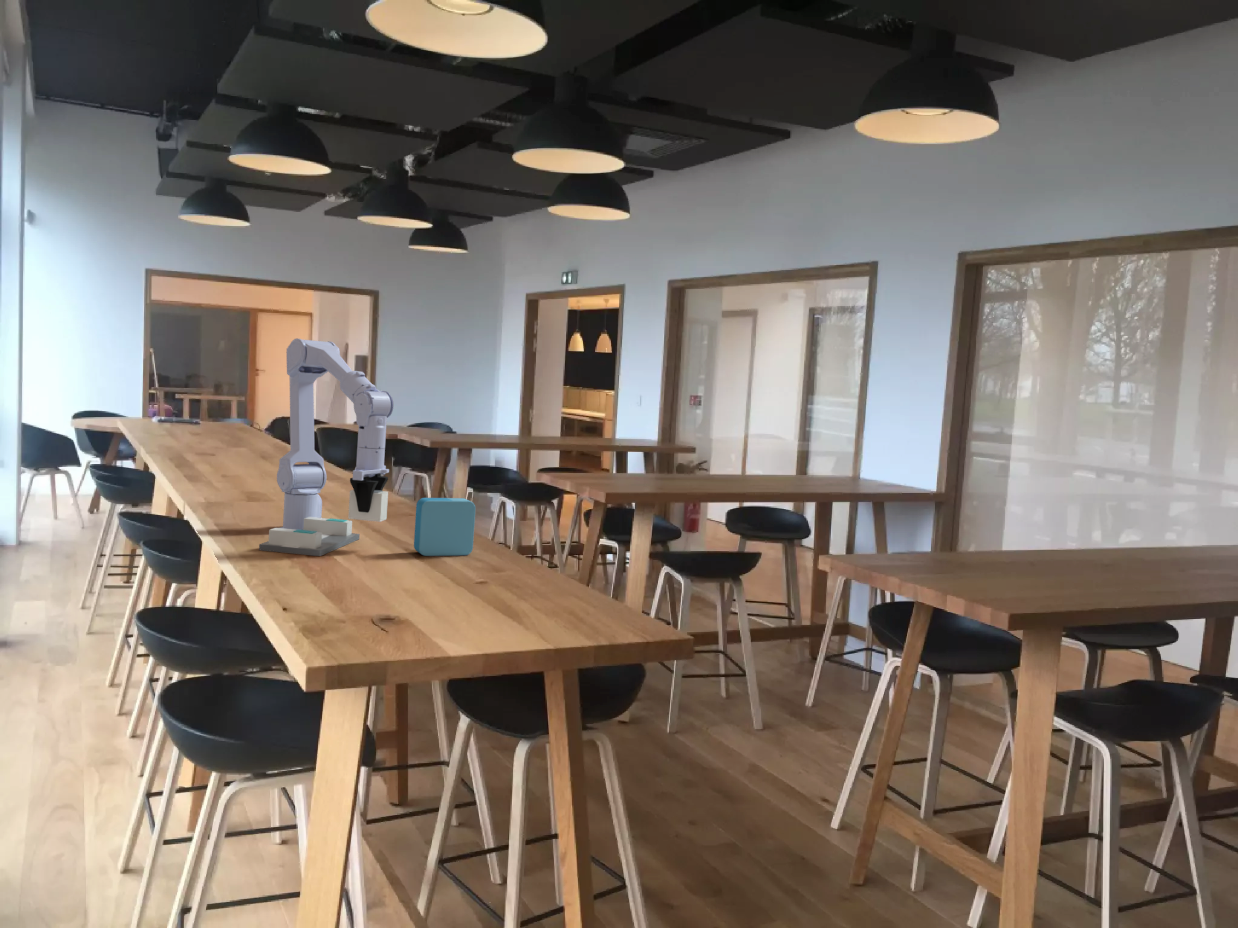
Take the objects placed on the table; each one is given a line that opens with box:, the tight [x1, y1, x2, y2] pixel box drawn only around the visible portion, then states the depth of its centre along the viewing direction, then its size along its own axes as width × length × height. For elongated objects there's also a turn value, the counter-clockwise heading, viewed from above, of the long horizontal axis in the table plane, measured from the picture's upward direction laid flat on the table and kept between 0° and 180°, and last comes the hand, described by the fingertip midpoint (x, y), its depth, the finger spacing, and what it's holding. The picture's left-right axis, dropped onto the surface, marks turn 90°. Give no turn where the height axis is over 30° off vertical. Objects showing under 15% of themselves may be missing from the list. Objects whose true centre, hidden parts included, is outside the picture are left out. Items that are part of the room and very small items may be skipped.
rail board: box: [258, 517, 360, 557], centre depth 208 cm, size 22×13×4 cm, turn 175°
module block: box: [347, 489, 389, 523], centre depth 206 cm, size 4×7×6 cm, turn 84°
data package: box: [413, 497, 476, 557], centre depth 209 cm, size 12×4×12 cm, turn 118°
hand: (367, 510), depth 206 cm, fingers closed on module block, 4 cm apart
